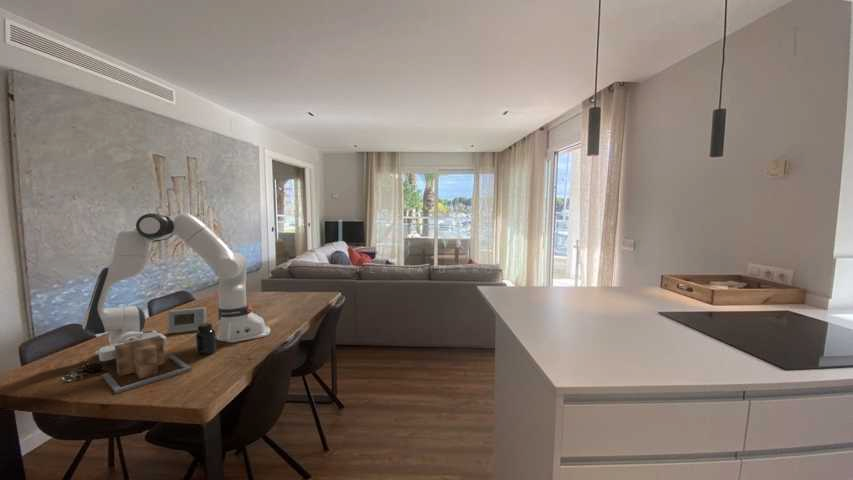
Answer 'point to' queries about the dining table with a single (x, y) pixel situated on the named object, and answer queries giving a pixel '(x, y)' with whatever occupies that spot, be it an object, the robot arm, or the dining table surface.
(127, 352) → the notched wooden block
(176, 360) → the frame
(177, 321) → the digital clock
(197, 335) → the supplement bottle
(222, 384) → the dining table surface
